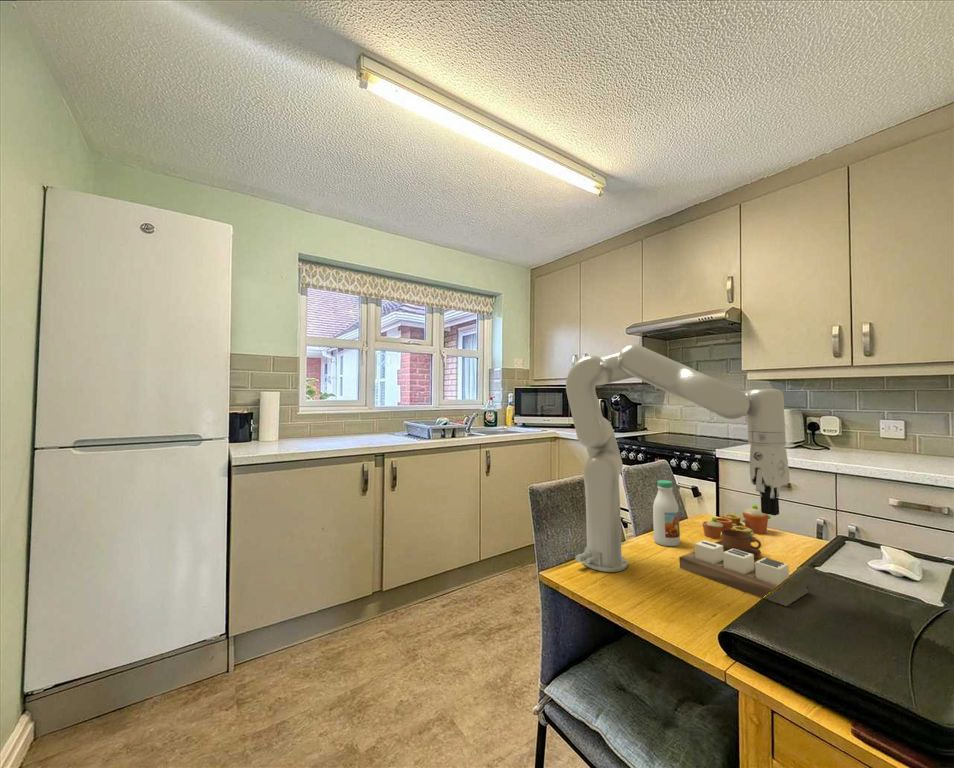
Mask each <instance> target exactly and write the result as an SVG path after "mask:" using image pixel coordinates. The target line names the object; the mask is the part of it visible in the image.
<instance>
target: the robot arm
mask: <svg viewBox="0 0 954 768" xmlns="http://www.w3.org/2000/svg"><path fill="white" fill-rule="evenodd" d="M634 377H635V378H637V379H638V380H641V381H643V382H645V383H647V384H649V385H651V386H653V387H654V388H657V389H659V390H661V391H664V392H666V393H668V394H670V395H673V396H675V397H679V398H681V399H685V400H687V401H689V402H691V403H693V404H696V405H698V406H700V407H702V408H704V409H707V410H708V411H710V412H712V413H714V414H716V415H718V416H719V417H722V418H725V419H727V420H736V419H740V418H742V417H746V420H747V421H746V422H747V441H748V442H747V443H748V445H750V450H749V478H750V484H752V485H753V486H755V491H756V492H758V493H759V497H760V509H761V512H762V513H764V514H767V515H770V516H773V517H775V516H777V515H780V503H779V501H780V500H779V497H780V488H782V487H783V486H785V485H788V484H789V483H790V469H789V461H788V455H787V450H786V446H787V441H786V440H787V439H786V421H785V419H786V418H785V401H784V393H783V391H782V390H780V389H778V388H757V389H756V388H755V389H750V390H741V389H739V388H737V387H734V386H732V385H730V384H728V383H725V382H723V381H721V380H719V379H716V378H714V377H711V376H709V375H707V374H705V373H702V372H701V371H700V372H699V371H697V370H695V369H694V368H692V367H689V365H688V366H687V365H684V364H683V363H681V362H679V361H675V360H673V359H671V358H669V357H667V356H666V355H662V354H660V353H658V352H655V351H653V350H651V349H649V348H647V347H644V346H642V345H638V344H633V343H632V344H628V345H627V346H624V347H623V348H622V349H621V350H620V352H617V353H615V354H611V355H607V356H603V357H599V356H597V355H586V356H583V357H582V358H580V359H578V360H577V361H576V362H575V363H574V364H573V365H572V367H571V368H570V369H569V371H568V374H567V377H566V381H565V390H566V395H567V400H568V405H569V409H570V413H571V416H572V420H573V421H572V422H573V424H574V429H575V432H576V437H577V440H578V442H579V443H580V444H581V446H583V447H585V448H586V451H587V454H588V458H587V460H586V461H585V463H584V466H583V483H584V493H585V494H584V495H585V516H586V517H585V519H586V523H585V525H586V547H584V551H583V552H582V553H580V554H579V553H578V554H575V557H574V558H575V561H576V562H577V563H582V564H583V565H584V566H585V567H587V568H589V569H592V570H594V571H597V572H598V571H599V572H606V573H616V572H622V571H624V570H626V569H627V568H628V560H627V559H626V558H625V556H623V555H622V554H623V553H622V552H623V551H622V526H621V525H622V523H621V521H622V518H621V515H622V514H621V495H620V493H621V492H620V475H621V473H622V471H623V460H622V455H621V453H620V449H619V446H618V441H617V438H616V435H615V432H614V429H613V426H612V424H611V422H610V421H609V420H608V419H607V418H605V417H604V416H603V413H602V409H601V405H600V402H599V398H598V395H597V392H596V387H597V386H604V385H607V384H611V383H615V382H619V381H623V380H627V379H630V378H634Z"/></svg>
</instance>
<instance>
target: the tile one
mask: <svg viewBox="0 0 954 768" xmlns="http://www.w3.org/2000/svg"><path fill="white" fill-rule="evenodd" d="M694 551H695V558H697V559H700V560H703V561H706V562H709V563H712V564H716V563H719V562H721V561H723V545H719V544H716V543H715V542H712V541H708V540H701V541H699V542H696V543H694Z"/></svg>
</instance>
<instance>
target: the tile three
mask: <svg viewBox="0 0 954 768" xmlns="http://www.w3.org/2000/svg"><path fill="white" fill-rule="evenodd" d="M754 564H755V568H756V578H757V579H760V580H763V581H766V582H769V583H772V584H775V585H779V584H781V583H782V582H783V581H784V580H785V579H787V578H788V577H789V575H790V572H789V571H790V570H789V569H790V568H789V564H788V563H784V562H783V561H778V560H775V559H772V558H769V557H763V558H761V559H759V560H756V561H754Z"/></svg>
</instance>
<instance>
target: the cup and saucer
mask: <svg viewBox="0 0 954 768" xmlns="http://www.w3.org/2000/svg"><path fill="white" fill-rule="evenodd" d="M752 542H757V543H758V545H756V546H753V545H752ZM714 543H716V544H719V545H723V552H725V551H728V550H730V549H737V550H740V551H744V552H747V553H750V554H754V559H756V558H758V557H760V556H761V554H762V552H761V550H760V549H761V547H762V543H761V541H760V540H759V539H757V538H755V539H751V536H750V535H749V534H747V533H745V532H741V531H736V530H733V529H731V530H724V531H722V532H721V540H719V541H715V542H714Z"/></svg>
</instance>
